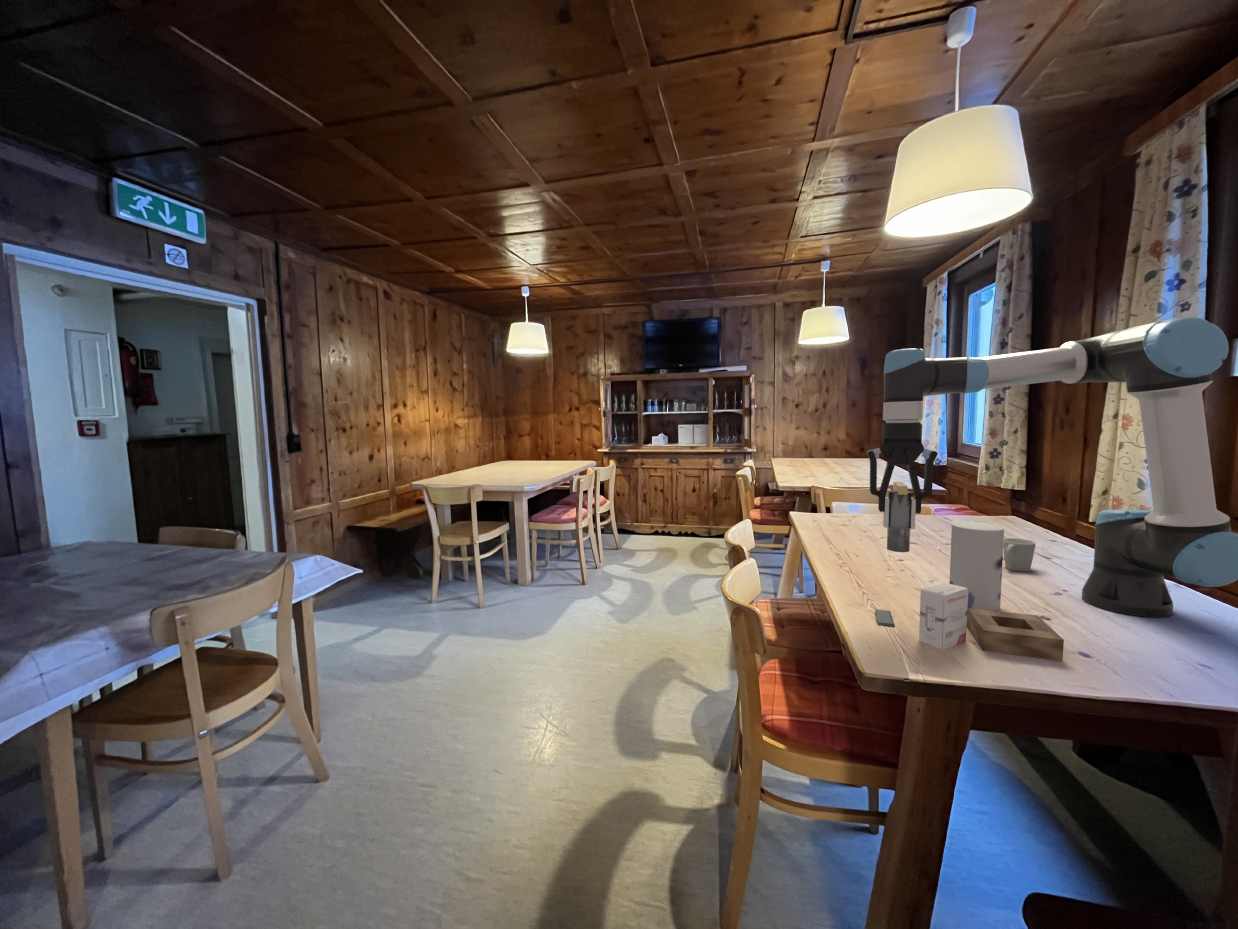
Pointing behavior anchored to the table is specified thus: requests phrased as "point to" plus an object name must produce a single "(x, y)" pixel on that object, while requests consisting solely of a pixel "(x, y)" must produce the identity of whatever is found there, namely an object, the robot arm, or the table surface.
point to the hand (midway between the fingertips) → (898, 526)
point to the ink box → (943, 615)
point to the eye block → (1014, 634)
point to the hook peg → (899, 518)
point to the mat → (884, 618)
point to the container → (977, 562)
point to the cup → (1018, 554)
